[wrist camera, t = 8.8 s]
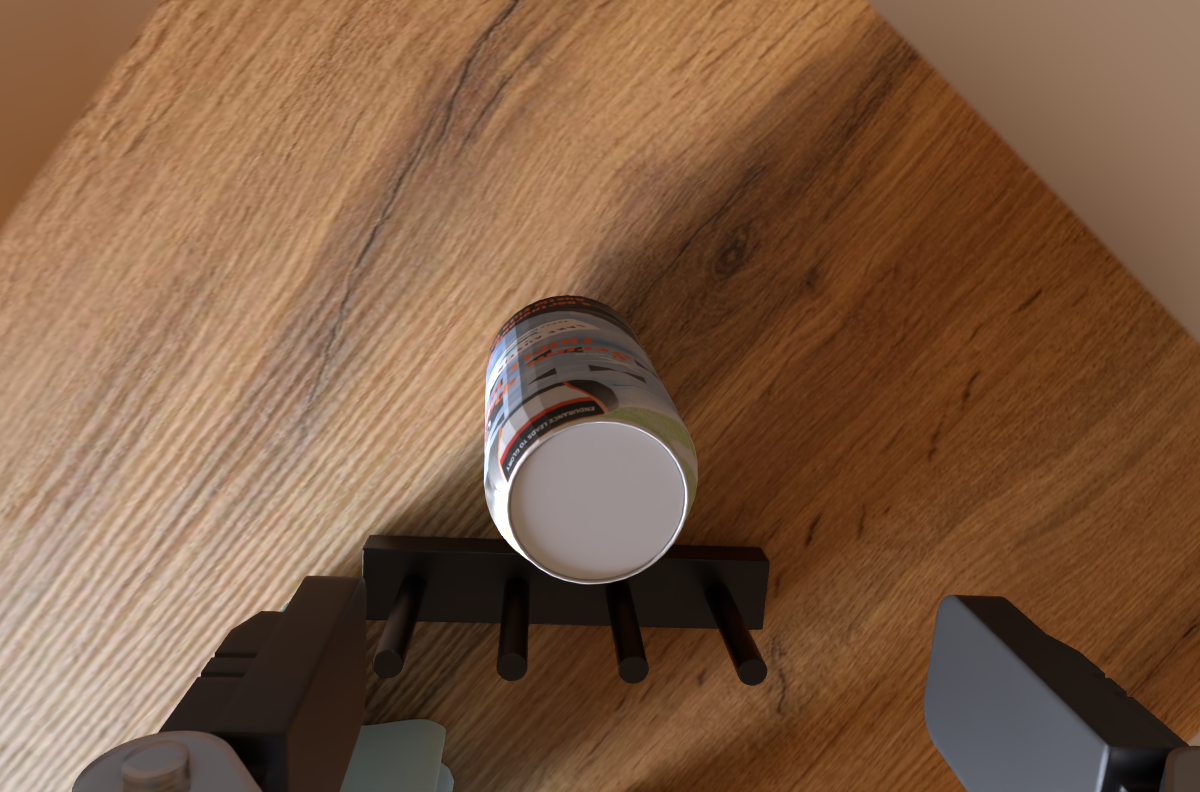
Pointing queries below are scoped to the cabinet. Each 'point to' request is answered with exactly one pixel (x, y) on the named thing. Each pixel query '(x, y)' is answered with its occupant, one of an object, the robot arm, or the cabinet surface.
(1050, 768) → the robot arm
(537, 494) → the beverage can
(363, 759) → the squiggly pen holder
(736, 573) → the rack
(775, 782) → the cabinet surface
